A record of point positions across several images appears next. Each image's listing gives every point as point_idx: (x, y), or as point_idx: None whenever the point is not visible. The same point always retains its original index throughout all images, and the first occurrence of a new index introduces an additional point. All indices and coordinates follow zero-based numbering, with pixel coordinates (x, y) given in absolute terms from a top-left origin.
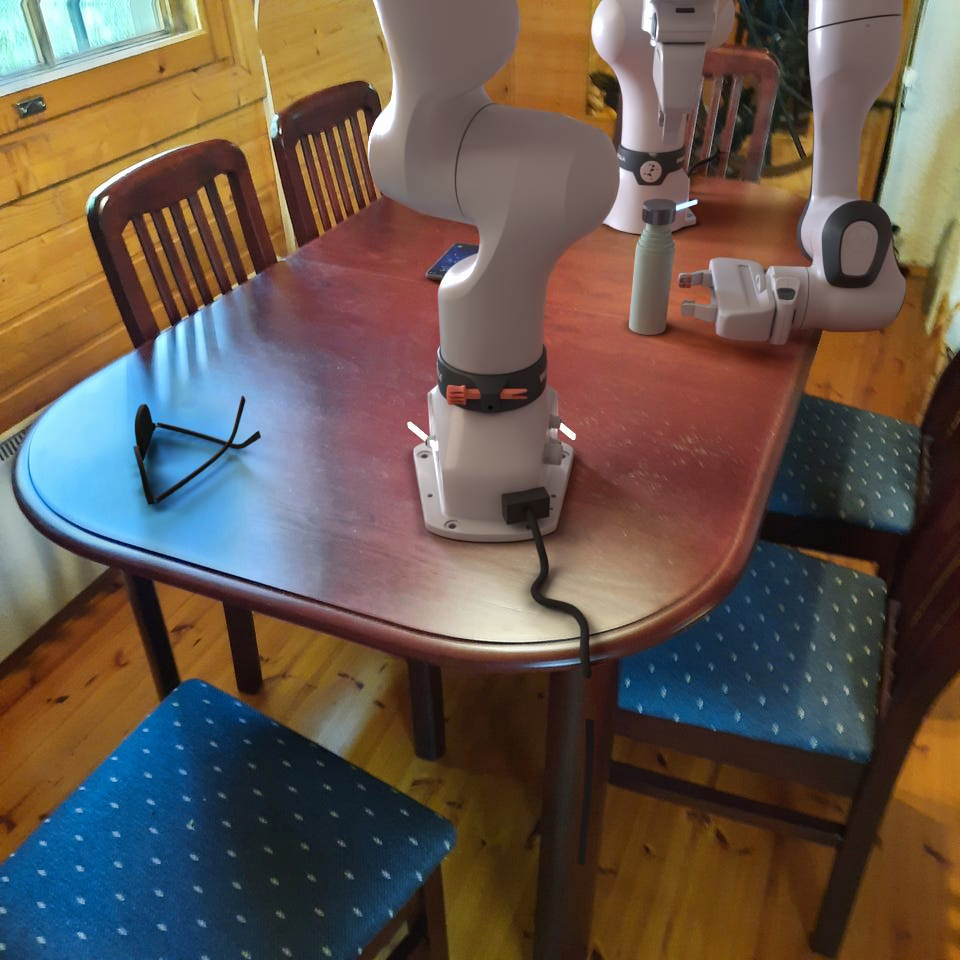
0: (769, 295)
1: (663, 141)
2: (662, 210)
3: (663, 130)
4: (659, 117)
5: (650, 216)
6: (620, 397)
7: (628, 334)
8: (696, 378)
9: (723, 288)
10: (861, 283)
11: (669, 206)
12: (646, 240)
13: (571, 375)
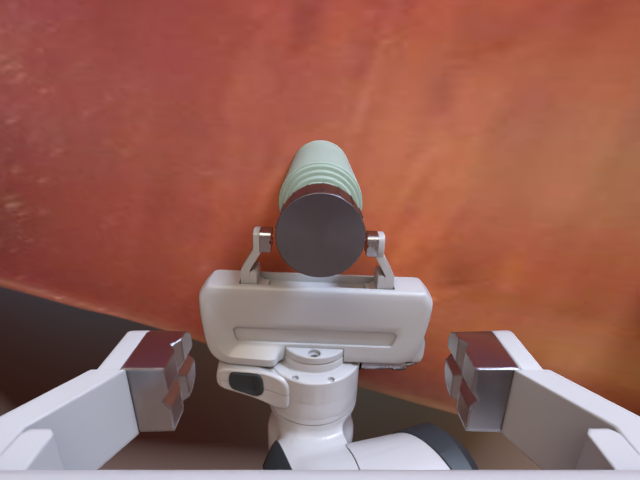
0: (251, 361)
1: (125, 335)
2: (276, 240)
3: (127, 362)
4: (467, 354)
5: (284, 206)
6: (92, 119)
7: (292, 138)
8: (170, 227)
9: (297, 300)
10: None
11: (301, 259)
12: (294, 187)
13: (139, 38)
